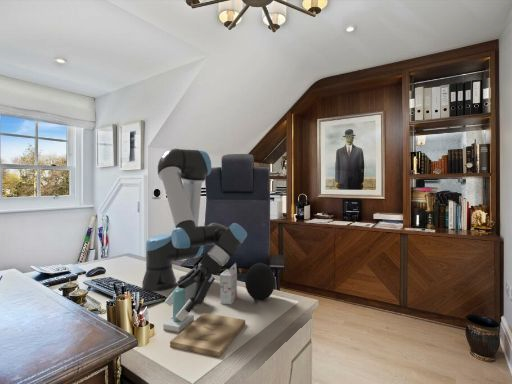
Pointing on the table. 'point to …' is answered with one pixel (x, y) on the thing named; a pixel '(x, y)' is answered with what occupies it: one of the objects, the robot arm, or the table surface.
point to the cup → (189, 290)
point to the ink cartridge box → (228, 285)
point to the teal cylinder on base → (178, 304)
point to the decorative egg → (260, 281)
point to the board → (208, 334)
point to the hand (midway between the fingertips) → (172, 311)
